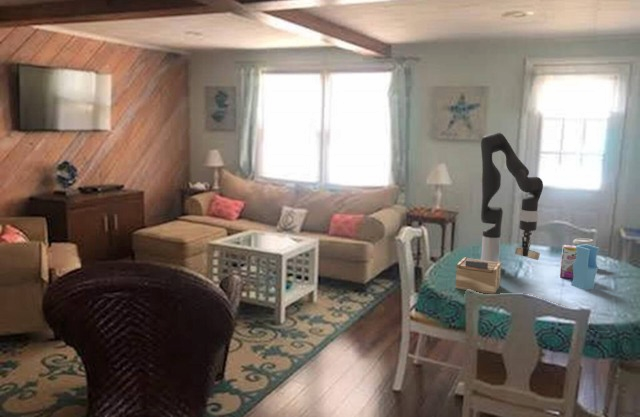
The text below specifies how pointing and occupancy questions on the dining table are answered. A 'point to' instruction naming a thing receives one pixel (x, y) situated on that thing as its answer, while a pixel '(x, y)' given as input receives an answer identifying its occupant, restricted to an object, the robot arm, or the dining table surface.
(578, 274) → the light-blue file holder
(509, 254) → the dining table surface
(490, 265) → the toolbox lid
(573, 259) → the candy bar box
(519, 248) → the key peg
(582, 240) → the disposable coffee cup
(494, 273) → the toolbox
